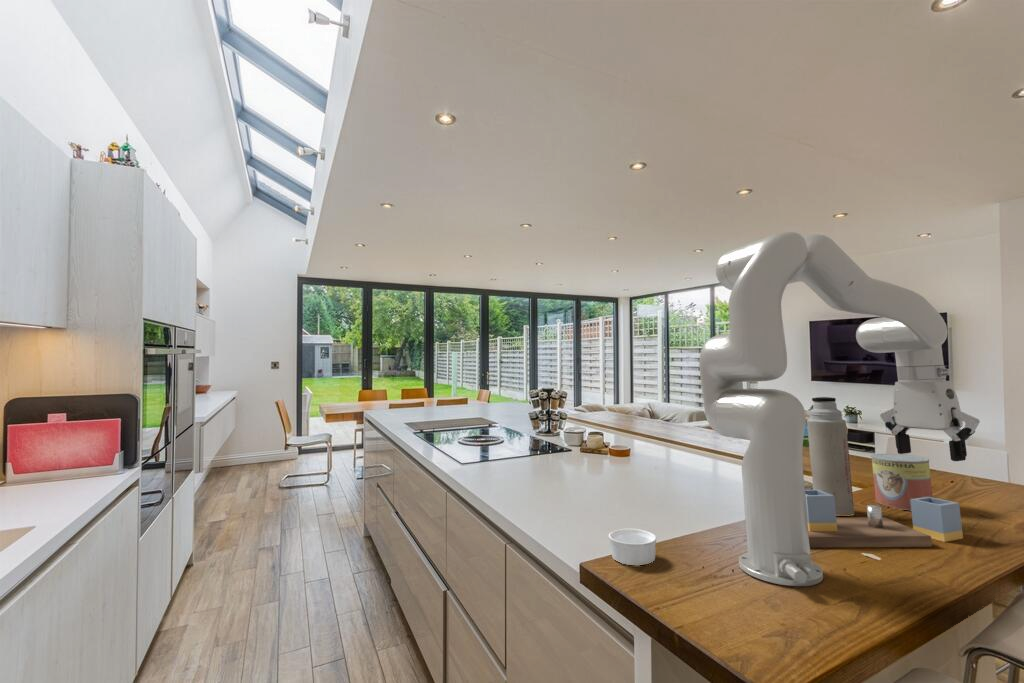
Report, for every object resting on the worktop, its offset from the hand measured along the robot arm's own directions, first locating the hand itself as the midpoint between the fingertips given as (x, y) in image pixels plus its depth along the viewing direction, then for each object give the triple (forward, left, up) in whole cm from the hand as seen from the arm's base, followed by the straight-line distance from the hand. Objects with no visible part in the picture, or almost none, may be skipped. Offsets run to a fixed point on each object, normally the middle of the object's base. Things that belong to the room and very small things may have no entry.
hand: (930, 456), depth 94 cm
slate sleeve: (0, 0, -16) cm, 16 cm away
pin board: (0, +18, -16) cm, 24 cm away
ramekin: (-11, +64, -16) cm, 67 cm away
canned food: (+22, -10, -16) cm, 29 cm away
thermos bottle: (+17, +10, -16) cm, 26 cm away
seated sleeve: (0, +24, -14) cm, 28 cm away
